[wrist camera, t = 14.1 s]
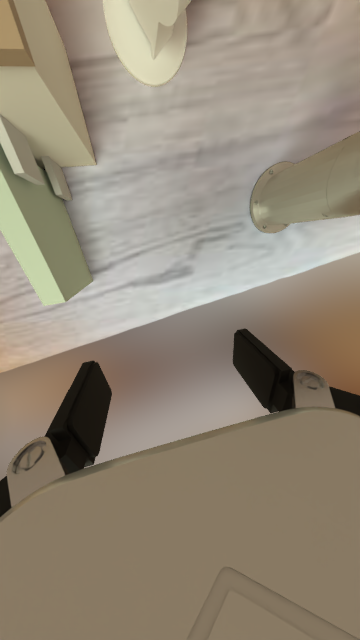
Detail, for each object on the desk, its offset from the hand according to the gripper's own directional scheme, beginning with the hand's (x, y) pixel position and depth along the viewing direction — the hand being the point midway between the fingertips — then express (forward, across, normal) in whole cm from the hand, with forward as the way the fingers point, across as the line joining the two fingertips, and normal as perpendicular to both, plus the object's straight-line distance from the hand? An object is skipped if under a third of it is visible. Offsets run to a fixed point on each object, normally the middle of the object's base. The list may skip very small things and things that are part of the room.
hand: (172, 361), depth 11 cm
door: (+30, +15, -10) cm, 35 cm away
